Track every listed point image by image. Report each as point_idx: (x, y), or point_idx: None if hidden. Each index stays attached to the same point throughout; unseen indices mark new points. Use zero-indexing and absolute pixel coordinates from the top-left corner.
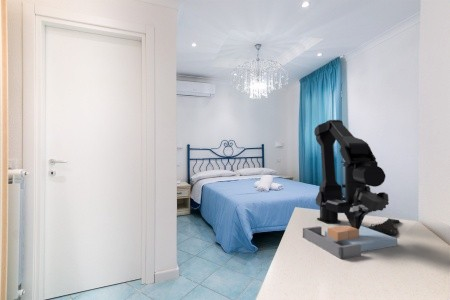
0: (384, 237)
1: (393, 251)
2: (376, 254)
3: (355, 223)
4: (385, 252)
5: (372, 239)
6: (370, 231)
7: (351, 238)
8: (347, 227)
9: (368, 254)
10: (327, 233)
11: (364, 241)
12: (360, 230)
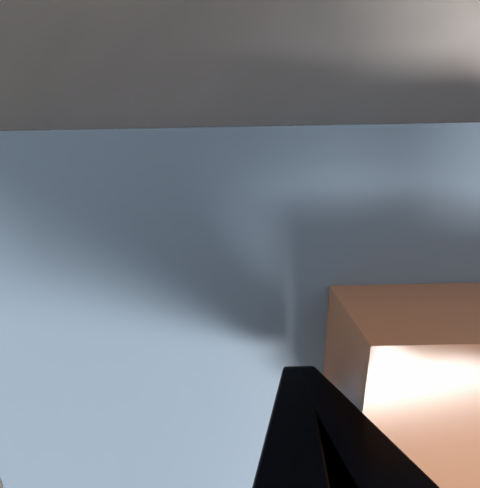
0: (19, 209)
1: (129, 23)
2: (370, 20)
3: (429, 482)
4: (235, 30)
5: (225, 201)
6: (38, 388)
7: (449, 285)
8: (443, 453)
9: (446, 47)
10: None
11: (378, 180)
12: (125, 431)
